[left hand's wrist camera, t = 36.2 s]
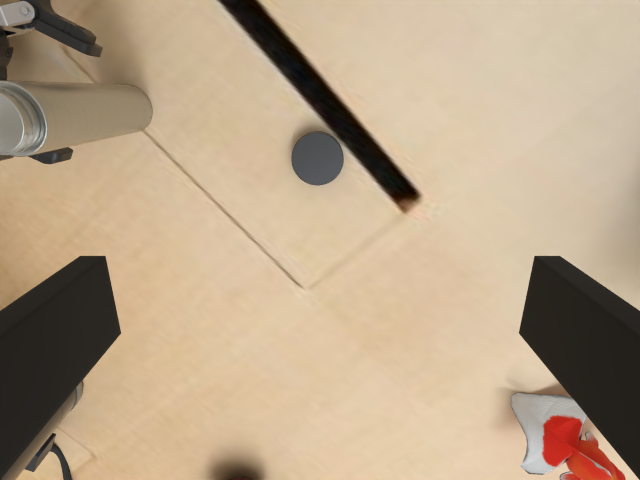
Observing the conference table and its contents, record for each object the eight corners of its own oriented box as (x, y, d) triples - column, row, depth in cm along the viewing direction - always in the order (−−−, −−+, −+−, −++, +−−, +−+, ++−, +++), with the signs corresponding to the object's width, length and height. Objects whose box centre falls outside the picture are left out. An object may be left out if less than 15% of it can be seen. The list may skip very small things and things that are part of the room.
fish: (546, 518, 49) (606, 567, 39) (468, 406, 51) (506, 426, 41) (610, 464, 50) (683, 498, 41) (531, 357, 53) (582, 365, 43)
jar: (100, 117, 37) (-58, 135, 22) (116, 75, 36) (-39, 63, 20) (142, 140, 38) (19, 174, 22) (159, 100, 37) (41, 107, 21)
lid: (352, 155, 38) (354, 158, 37) (318, 191, 39) (318, 195, 38) (316, 120, 37) (315, 121, 36) (282, 158, 38) (280, 161, 37)
